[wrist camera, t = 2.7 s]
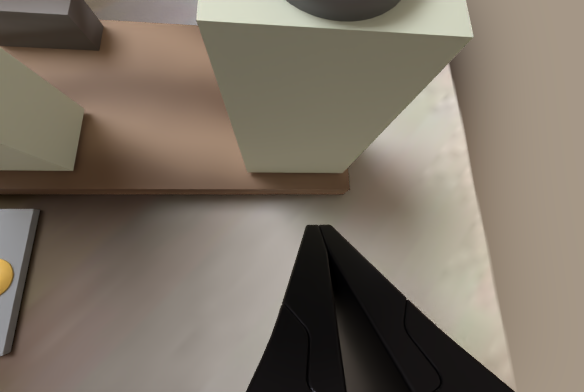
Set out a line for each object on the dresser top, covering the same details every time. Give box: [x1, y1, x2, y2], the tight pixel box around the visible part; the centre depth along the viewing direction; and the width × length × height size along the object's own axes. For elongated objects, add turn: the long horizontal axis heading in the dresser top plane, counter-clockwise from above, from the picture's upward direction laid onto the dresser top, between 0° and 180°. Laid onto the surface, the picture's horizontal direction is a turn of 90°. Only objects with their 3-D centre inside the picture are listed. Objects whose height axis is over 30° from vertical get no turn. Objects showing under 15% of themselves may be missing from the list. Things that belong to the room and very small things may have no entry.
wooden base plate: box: [0, 0, 350, 194], centre depth 15 cm, size 12×23×4 cm, turn 91°
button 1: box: [196, 0, 473, 173], centre depth 10 cm, size 4×6×11 cm, turn 91°
